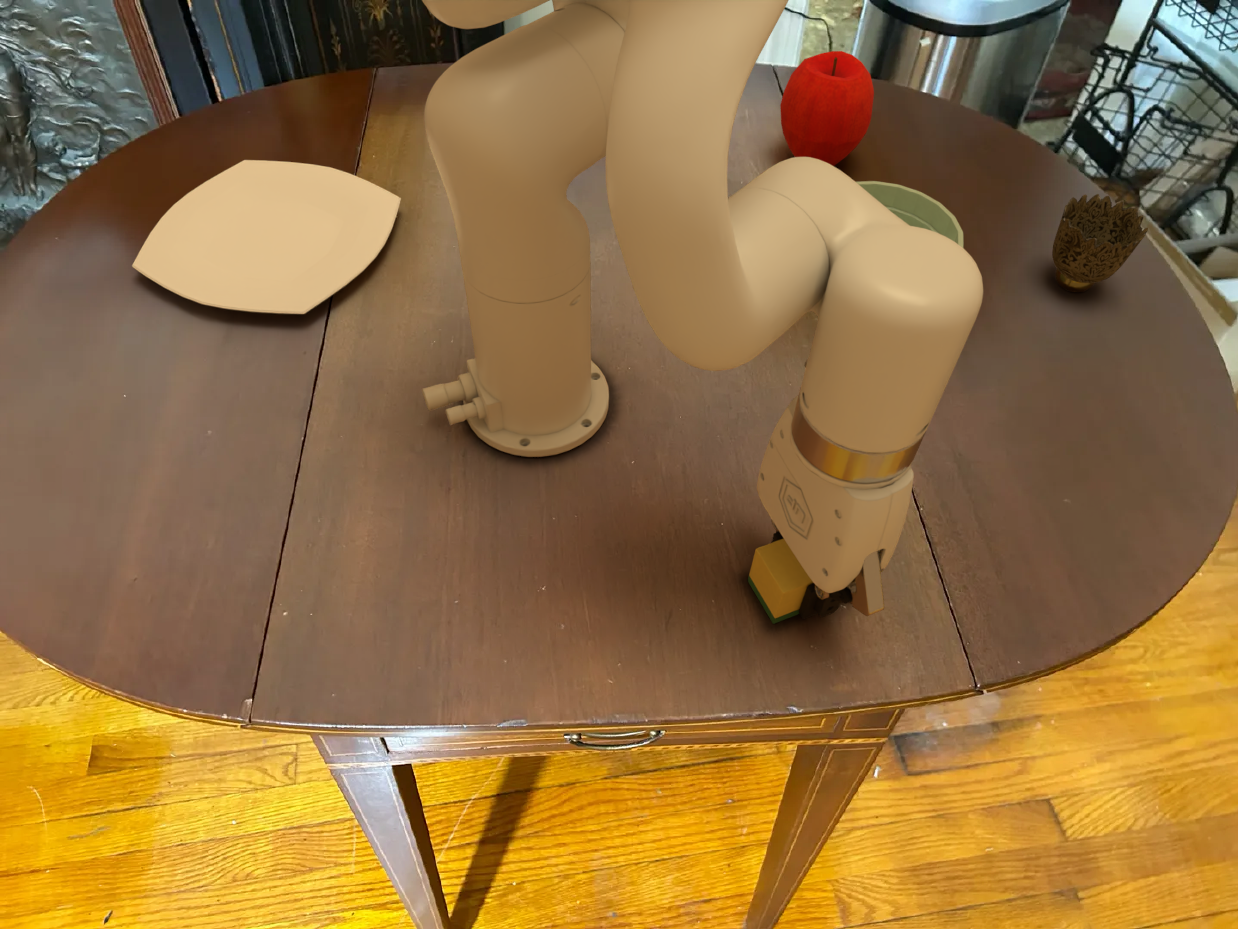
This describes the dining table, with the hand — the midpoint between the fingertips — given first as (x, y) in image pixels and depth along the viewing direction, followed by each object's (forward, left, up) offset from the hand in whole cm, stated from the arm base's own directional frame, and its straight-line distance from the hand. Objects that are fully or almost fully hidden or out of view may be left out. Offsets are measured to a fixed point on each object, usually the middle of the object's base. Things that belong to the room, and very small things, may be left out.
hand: (802, 582), depth 68 cm
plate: (-29, +55, -1) cm, 62 cm away
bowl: (+25, +29, -1) cm, 38 cm away
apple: (+30, +48, -1) cm, 57 cm away
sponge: (0, 0, -1) cm, 1 cm away
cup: (+43, +20, -1) cm, 47 cm away
